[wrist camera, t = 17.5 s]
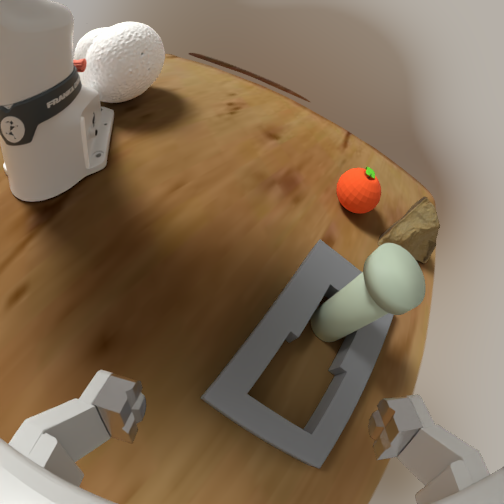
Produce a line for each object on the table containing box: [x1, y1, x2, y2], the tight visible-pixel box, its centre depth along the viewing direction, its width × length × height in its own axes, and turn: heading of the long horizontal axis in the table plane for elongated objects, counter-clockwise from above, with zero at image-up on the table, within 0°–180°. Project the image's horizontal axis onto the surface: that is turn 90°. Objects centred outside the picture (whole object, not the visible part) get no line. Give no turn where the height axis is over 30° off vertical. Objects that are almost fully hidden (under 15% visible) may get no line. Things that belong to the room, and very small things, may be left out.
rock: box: [378, 197, 440, 263], centre depth 38 cm, size 10×8×10 cm
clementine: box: [337, 167, 381, 213], centre depth 39 cm, size 8×7×7 cm
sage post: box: [311, 243, 425, 342], centre depth 25 cm, size 6×6×12 cm
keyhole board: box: [201, 240, 394, 469], centre depth 27 cm, size 22×13×2 cm, turn 145°
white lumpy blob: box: [74, 22, 165, 103], centre depth 36 cm, size 20×18×16 cm
